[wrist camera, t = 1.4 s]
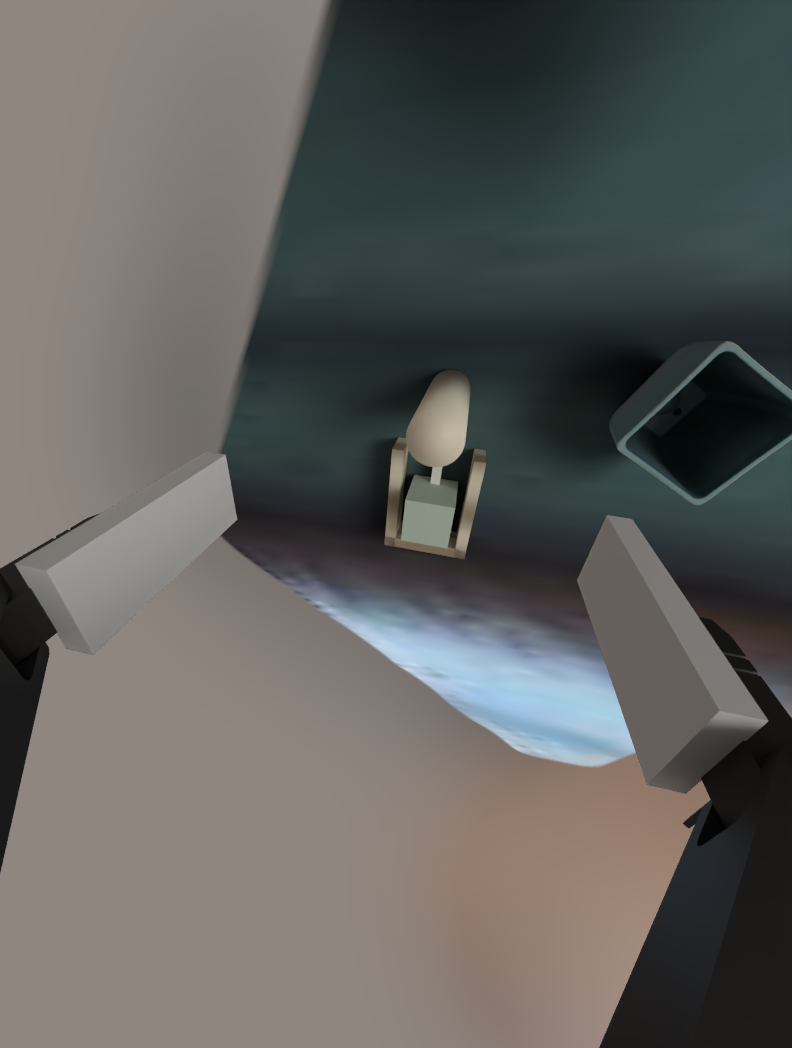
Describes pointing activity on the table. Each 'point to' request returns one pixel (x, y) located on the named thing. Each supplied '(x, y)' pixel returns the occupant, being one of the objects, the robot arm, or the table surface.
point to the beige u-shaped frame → (395, 503)
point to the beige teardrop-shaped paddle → (436, 458)
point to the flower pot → (704, 419)
